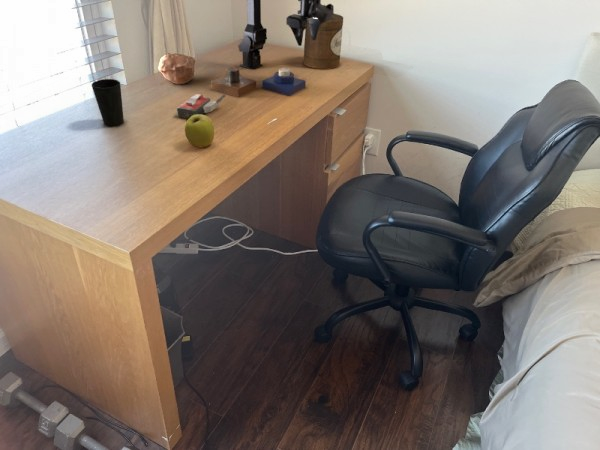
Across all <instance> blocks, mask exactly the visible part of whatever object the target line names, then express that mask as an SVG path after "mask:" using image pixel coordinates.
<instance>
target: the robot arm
mask: <svg viewBox="0 0 600 450" xmlns="http://www.w3.org/2000/svg"><path fill="white" fill-rule="evenodd" d="M297 1H298V2H299V3H300V4H299V5H300V6H299V10H297V14H295V13H293V14H290V15H288V16H287V17H286V18H285V19H286V21H285V23H286V26H288V27H289V28H290V30H291V31H292V34H293V36H294V39H295V41H296V43H297V45H298V46H299V47H301V46H302V44H303V40H304V39H303V38H304V31H305V29H306V28H307V26H306V25H307V20H309V24H310V31H311V37H312V40H315V39H316V36H317V33H318V31H319V28H320V26H321V24H322V23H325V22H326V21H329V20H330V18H331V16H332V15H334V14H335V13H334V11H335V10H334V5H333V4H332V3H327V4H326V5H325V4H322V3H321V1H322V0H297ZM261 3H262V1H261V0H246V8H247V9H246V10H247V11H246V12H247V23H246V26H245V28H244V30H243V39H242V40H241V42H239V44H238V45H237V47H238V51H239V52H240V53H242V63H241V64H240V67H241V68H246V69H249V70H255V69H257V68H261V67H262V66H263V63H262V58H261V57H262V55H261V50H263V49H264V45H265V44H266V42H267V40H268V37H267V34H268V33H267V32H268V30H267V27H264V26H263V24H262V6H261Z"/></svg>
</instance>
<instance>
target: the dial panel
mask: <svg viewBox="0 0 600 450" xmlns="http://www.w3.org/2000/svg"><path fill="white" fill-rule="evenodd" d="M211 90H212V91H216V92H219V93H222V94H226V95H229V96H233V97H236V98H240V97H242V96H244V95H247V94H249V93H252V92H254V91H256V90H257V80H254V79H251V78H247V77H243V76H240V81H239V82H237V83H231V82H229V81H228V74H225V75H223V76H220V77H218V78H216V79H213V80H211Z"/></svg>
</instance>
